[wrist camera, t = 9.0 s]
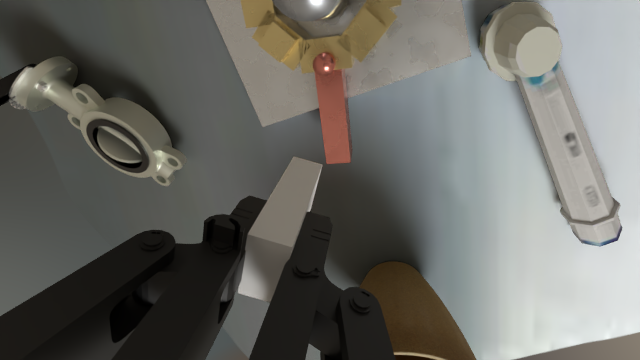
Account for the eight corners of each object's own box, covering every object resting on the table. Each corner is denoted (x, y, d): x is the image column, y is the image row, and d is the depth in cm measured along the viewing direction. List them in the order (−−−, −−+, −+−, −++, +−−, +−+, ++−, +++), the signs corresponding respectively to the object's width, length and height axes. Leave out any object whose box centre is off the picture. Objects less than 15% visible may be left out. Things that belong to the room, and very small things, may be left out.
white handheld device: (581, 255, 33) (493, 38, 23) (547, 214, 39) (463, 24, 29) (641, 235, 32) (574, -12, 21) (596, 194, 37) (526, -16, 27)
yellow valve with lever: (241, -84, 26) (210, -107, 21) (394, -117, 23) (399, -150, 19) (285, 154, 34) (271, 176, 29) (401, 145, 32) (406, 168, 27)
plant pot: (439, 330, 46) (470, 472, 31) (333, 313, 47) (316, 441, 33) (469, 244, 39) (525, 375, 25) (343, 226, 40) (328, 341, 26)
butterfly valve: (205, 138, 37) (56, 25, 32) (59, 302, 23) (-241, 149, 18) (180, 173, 43) (50, 81, 38) (51, 321, 29) (-179, 208, 24)
